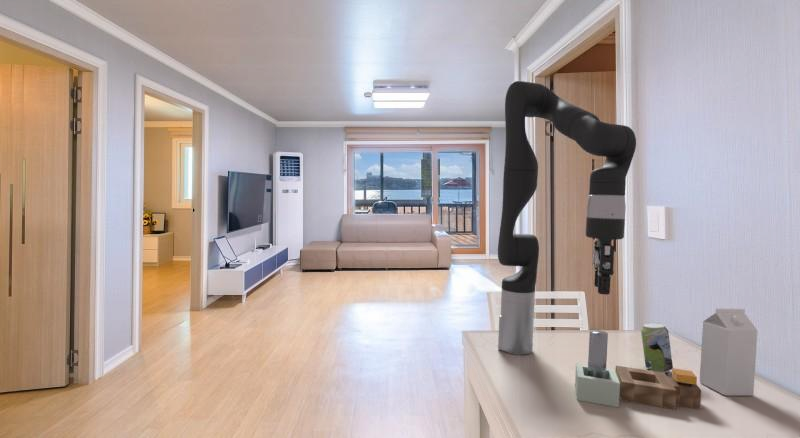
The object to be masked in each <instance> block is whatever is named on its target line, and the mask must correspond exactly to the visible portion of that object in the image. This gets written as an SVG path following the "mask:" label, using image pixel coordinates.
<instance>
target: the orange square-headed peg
mask: <svg viewBox="0 0 800 438" xmlns="http://www.w3.org/2000/svg"><path fill="white" fill-rule="evenodd" d="M671 377H672V378H674V379H675V380H676V382H678V384H679V385H685V386H689V384H695V385H696V384H697V383H698V382H697V381H698V377H697V375H695V373H694V371H692V370H687V369H682V368H675V367H673V368H672V369H671ZM697 385H698V384H697Z"/></svg>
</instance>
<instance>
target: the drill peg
mask: <svg viewBox="0 0 800 438" xmlns="http://www.w3.org/2000/svg"><path fill="white" fill-rule="evenodd" d="M608 337H609V334H608V332H606V331H604V330H598V329H597V330H596V329H591V330H589V338H588V339H589V340H588V359H587V365H588V375H587V376H590V377H596V378H603V379H606V368H607V360H608V359H607V358H608V343H609V342H608V341H609V339H608Z"/></svg>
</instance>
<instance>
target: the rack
mask: <svg viewBox="0 0 800 438" xmlns="http://www.w3.org/2000/svg"><path fill="white" fill-rule="evenodd" d="M587 375H588V364H580V363H576V364H575V376H574V377H575V378H574V381H575V382H574V388H575V397H576V400H577V401H581V402H588V403H593V404H598V405H604V406H608V407H615V408H619V406H620V395H619V391H620V382H619V380H618V377H617V375H616V372H615V369H613V368H607V367H606V379H603V378H596V377H590V376H587Z"/></svg>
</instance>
